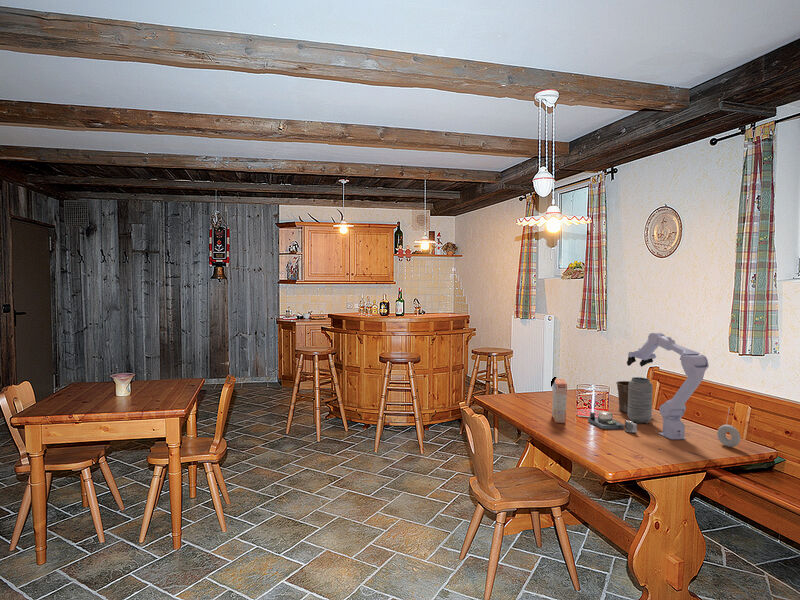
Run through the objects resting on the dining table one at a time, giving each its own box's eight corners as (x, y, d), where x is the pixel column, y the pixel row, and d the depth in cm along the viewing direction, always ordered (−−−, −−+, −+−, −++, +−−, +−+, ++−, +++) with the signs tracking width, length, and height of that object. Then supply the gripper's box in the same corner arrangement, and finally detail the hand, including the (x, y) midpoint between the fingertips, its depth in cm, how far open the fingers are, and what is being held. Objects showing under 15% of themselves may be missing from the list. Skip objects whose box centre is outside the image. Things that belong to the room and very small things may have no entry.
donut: (741, 449, 225) (742, 427, 224) (736, 450, 223) (737, 428, 223) (719, 442, 234) (720, 421, 233) (714, 443, 232) (715, 422, 232)
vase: (646, 418, 273) (647, 377, 272) (655, 425, 261) (656, 381, 260) (624, 418, 274) (625, 376, 273) (631, 424, 263) (633, 380, 262)
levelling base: (624, 428, 254) (625, 417, 253) (602, 429, 252) (602, 417, 252) (609, 421, 267) (609, 410, 267) (588, 421, 266) (588, 410, 265)
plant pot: (620, 406, 300) (620, 379, 299) (649, 411, 290) (650, 383, 289) (611, 411, 287) (612, 383, 287) (642, 416, 277) (643, 387, 277)
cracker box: (566, 423, 261) (567, 384, 260) (554, 423, 262) (555, 383, 262) (563, 416, 275) (564, 378, 274) (551, 416, 276) (552, 378, 275)
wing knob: (639, 433, 246) (639, 423, 245) (630, 433, 245) (630, 423, 245) (630, 429, 253) (631, 419, 252) (621, 429, 252) (622, 419, 252)
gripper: (657, 344, 263) (643, 359, 273) (632, 342, 260) (619, 357, 270) (662, 355, 258) (648, 370, 268) (637, 353, 256) (624, 368, 265)
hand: (634, 364), depth 269 cm, fingers open, 7 cm apart
